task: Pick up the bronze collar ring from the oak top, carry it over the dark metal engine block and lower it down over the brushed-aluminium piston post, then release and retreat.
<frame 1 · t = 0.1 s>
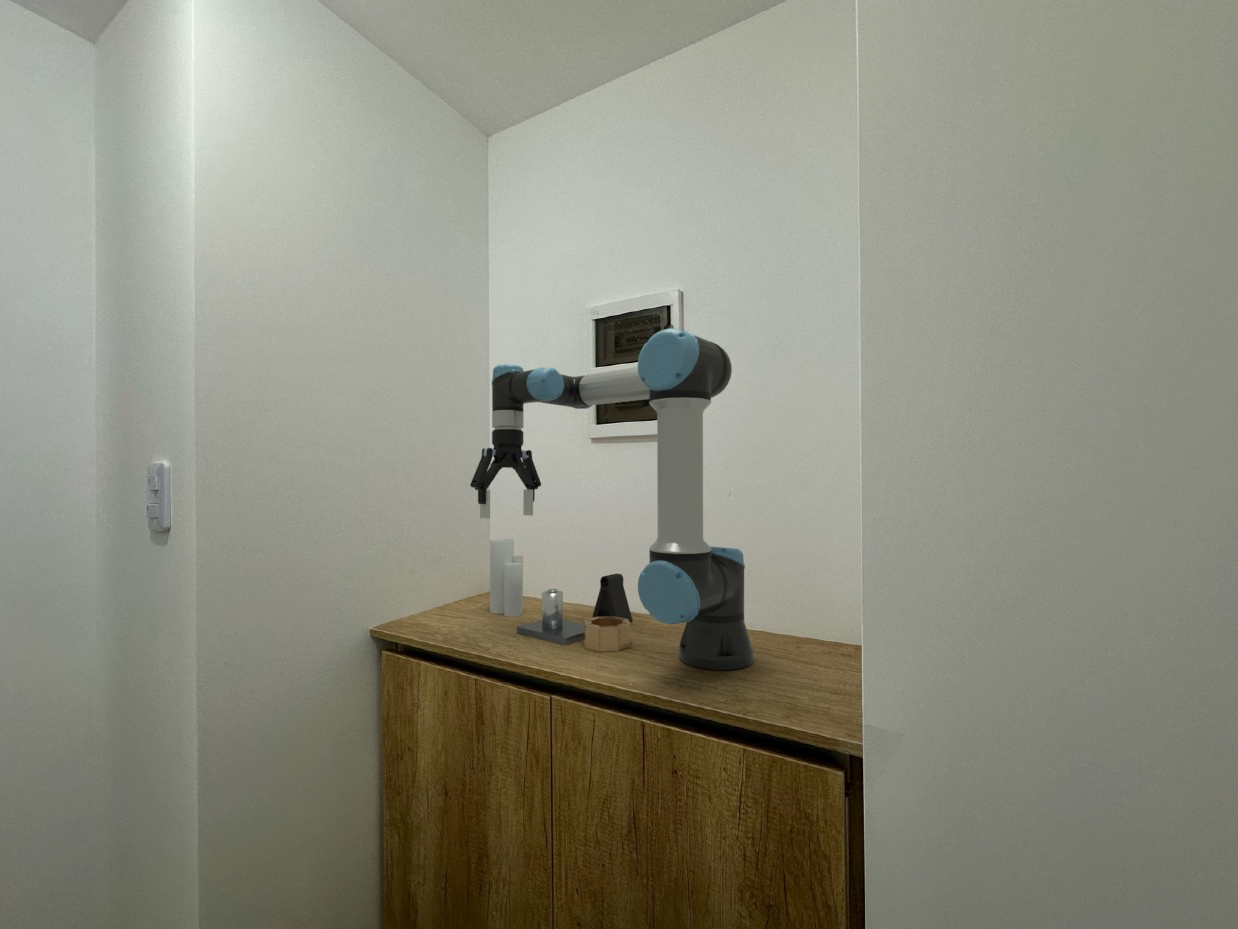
hand: (507, 517, 135), 28 cm above the cabinet top, fingers open, 13 cm apart
piston: (558, 633, 134), on the cabinet top
candle: (508, 613, 155), on the cabinet top
black triangular stand: (612, 621, 145), on the cabinet top
ring: (606, 644, 125), on the cabinet top
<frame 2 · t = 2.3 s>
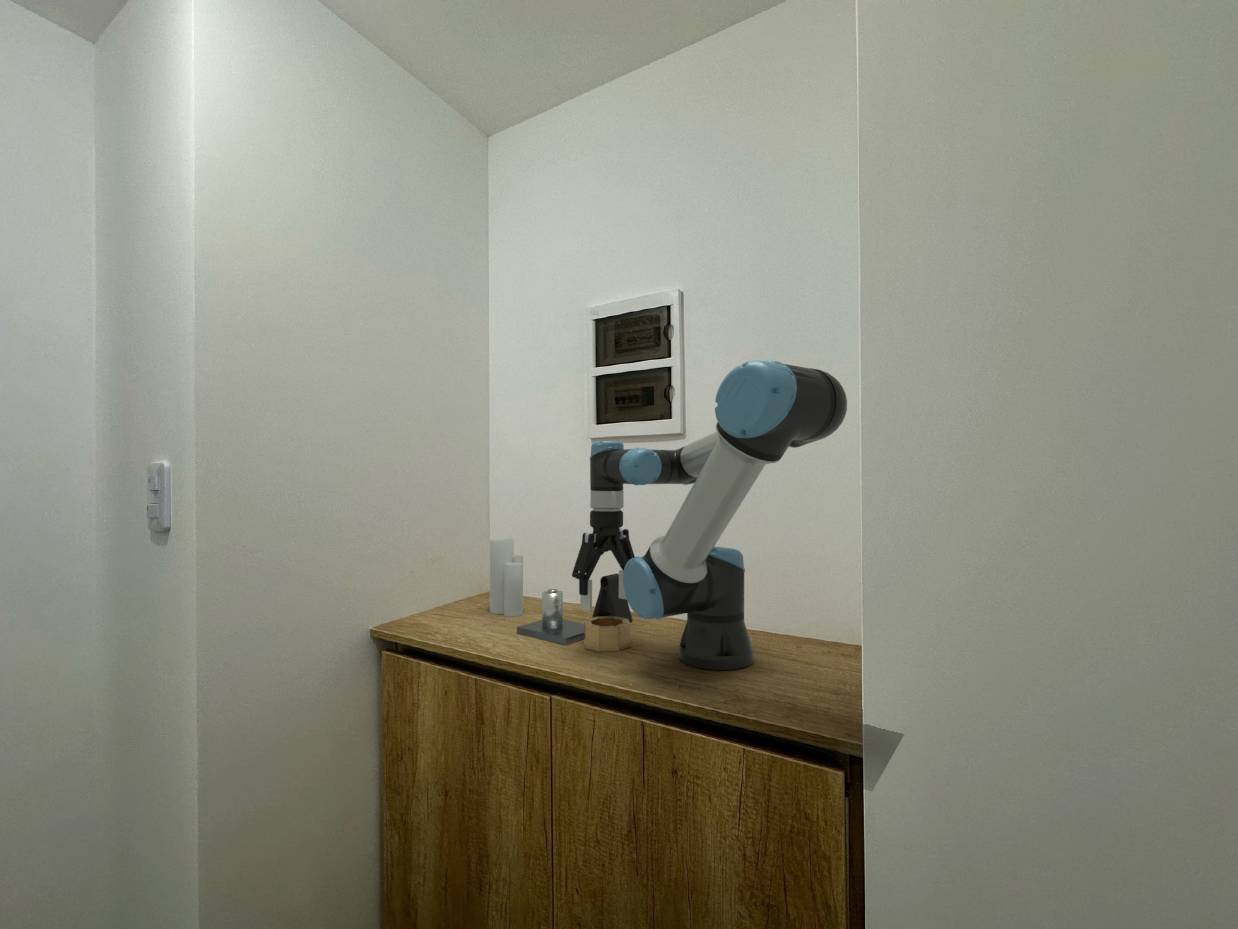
hand: (605, 604, 125), 9 cm above the cabinet top, fingers open, 13 cm apart
nothing on the cabinet top moved.
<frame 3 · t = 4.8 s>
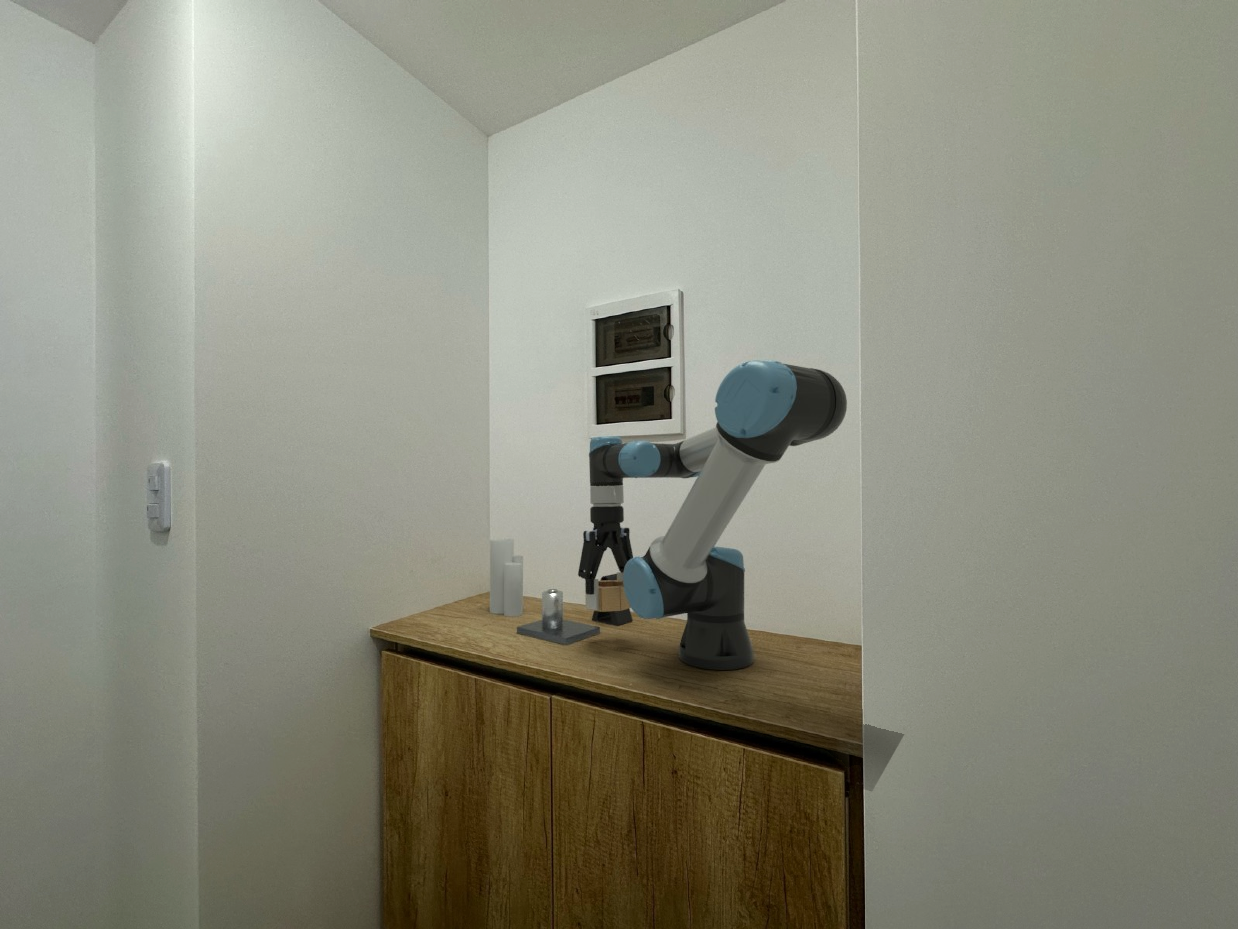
hand: (608, 605, 124), 9 cm above the cabinet top, fingers closed on ring, 10 cm apart
ring: (608, 606, 124), point 9 cm above the cabinet top, touching gripper
everything else where it was.
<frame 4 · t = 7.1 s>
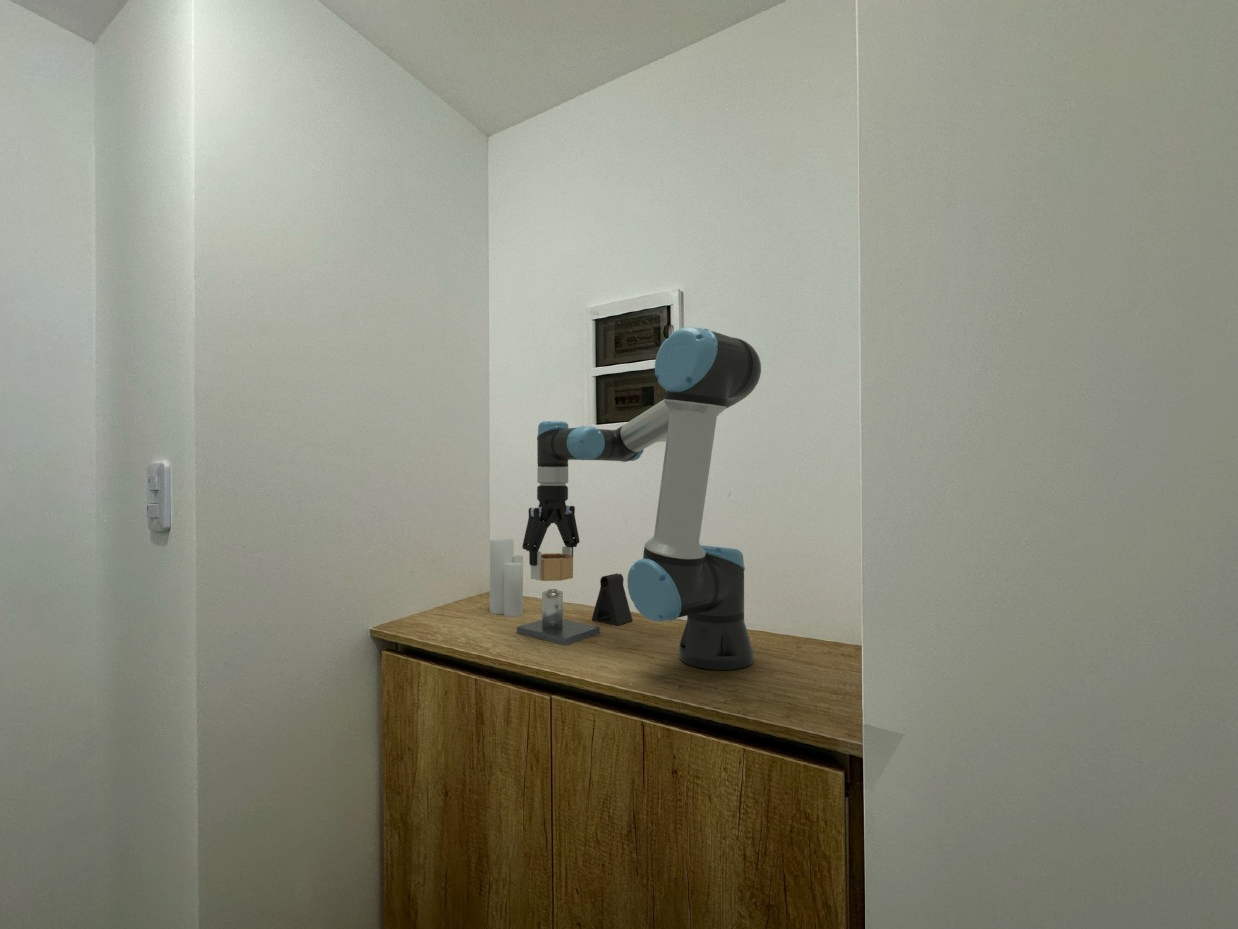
hand: (551, 576, 135), 13 cm above the cabinet top, fingers closed on ring, 10 cm apart
ring: (551, 576, 135), point 13 cm above the cabinet top, touching gripper
everything else where it was.
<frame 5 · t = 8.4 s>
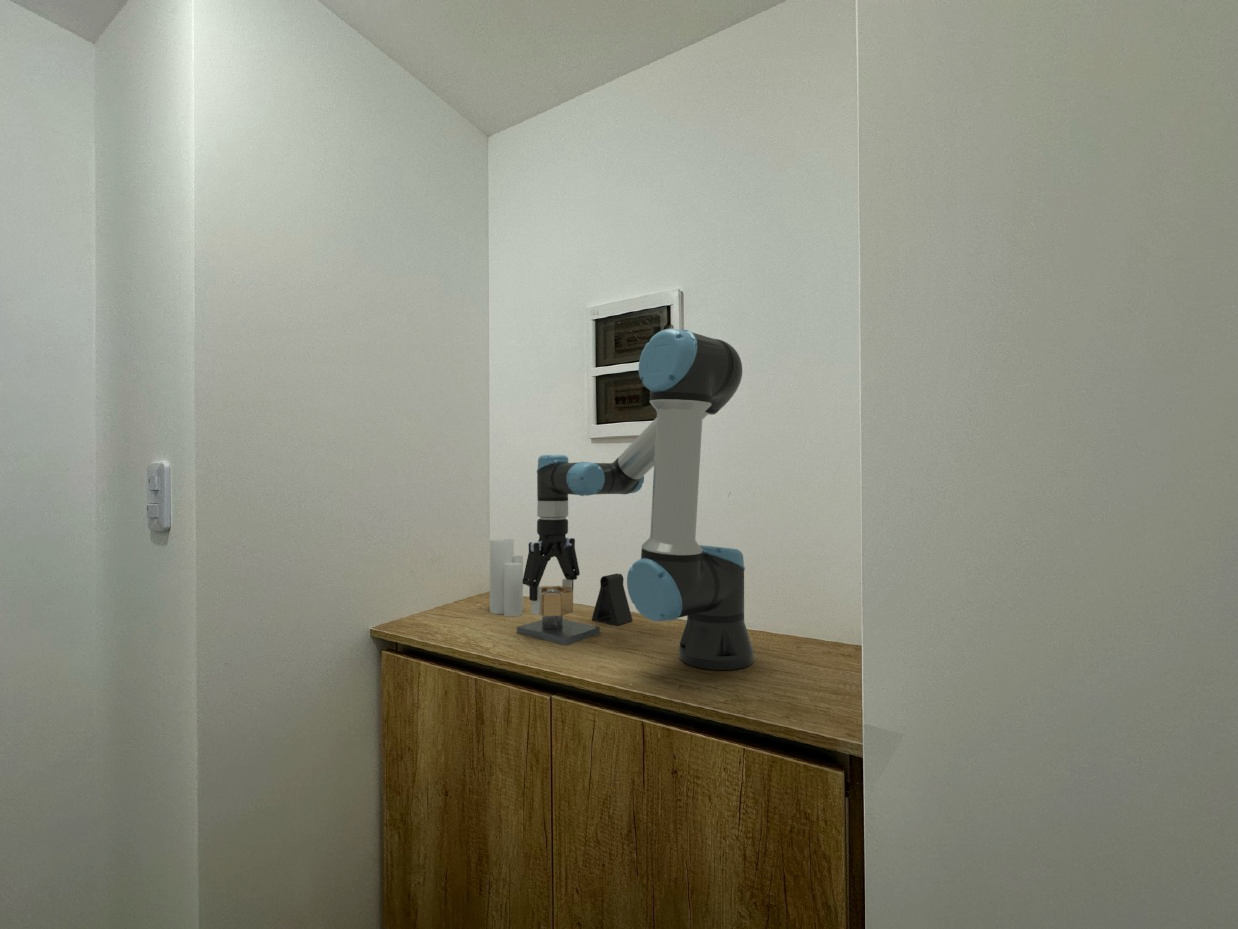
hand: (552, 609, 135), 5 cm above the cabinet top, fingers closed on ring, 10 cm apart
ring: (552, 610, 135), point 5 cm above the cabinet top, touching gripper
everything else where it was.
when the fingers open (3 cm above the cabinet top, at t = 9.4 s): ring stays where it is, resting on piston.
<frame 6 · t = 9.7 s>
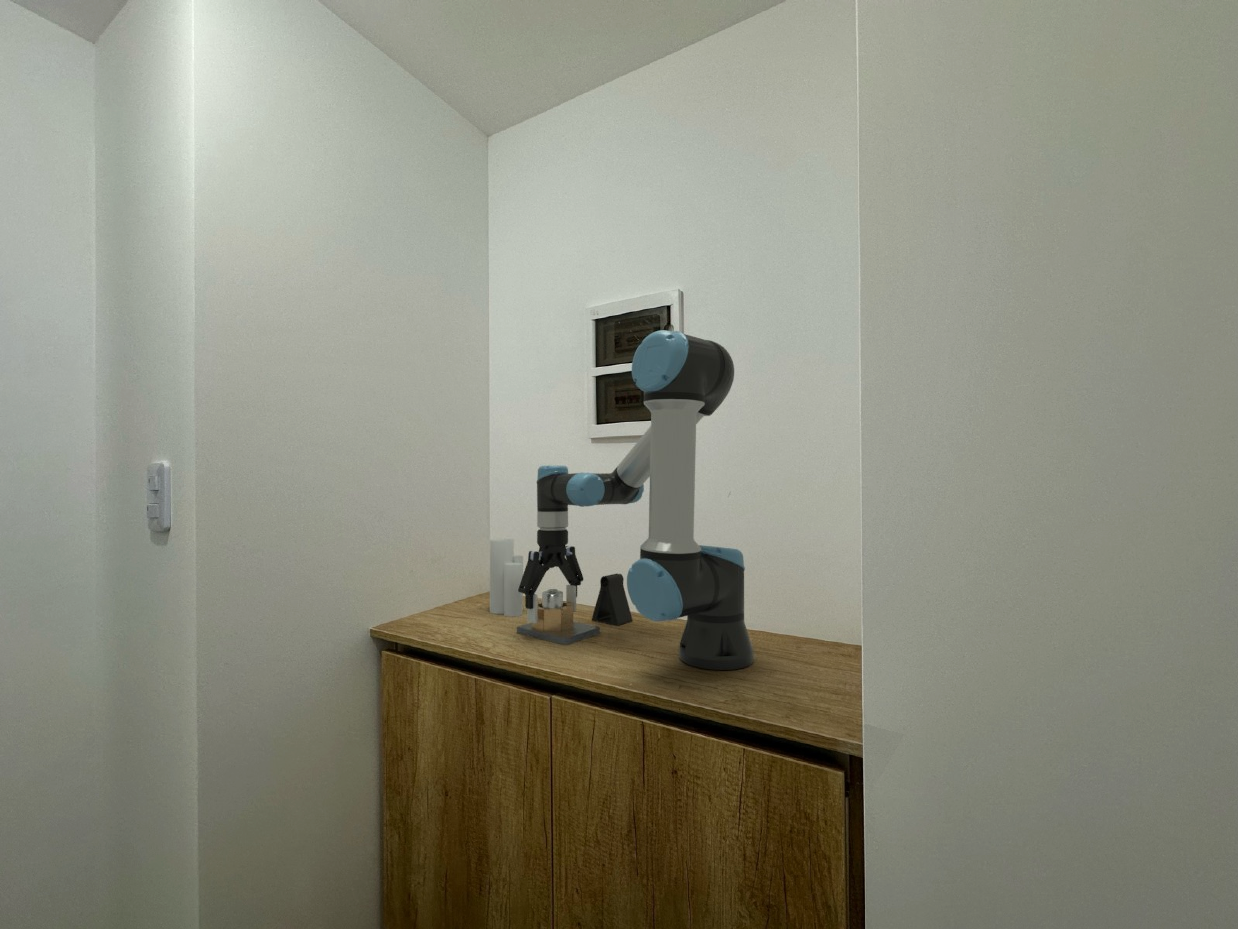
hand: (552, 616, 135), 4 cm above the cabinet top, fingers open, 13 cm apart
ring: (552, 625, 135), point 1 cm above the cabinet top, touching piston
everything else where it was.
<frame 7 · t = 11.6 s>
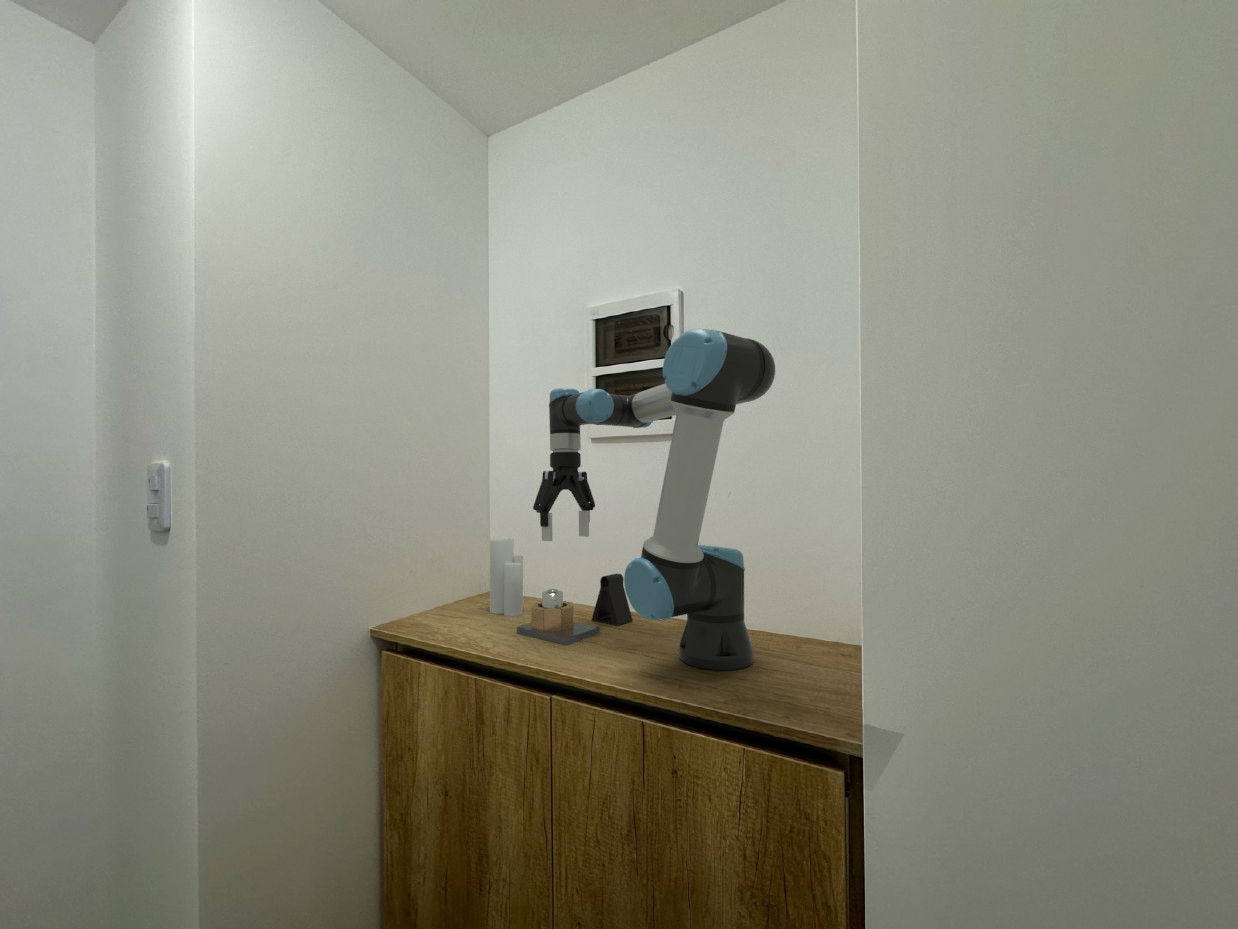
hand: (566, 538, 136), 23 cm above the cabinet top, fingers open, 13 cm apart
nothing on the cabinet top moved.
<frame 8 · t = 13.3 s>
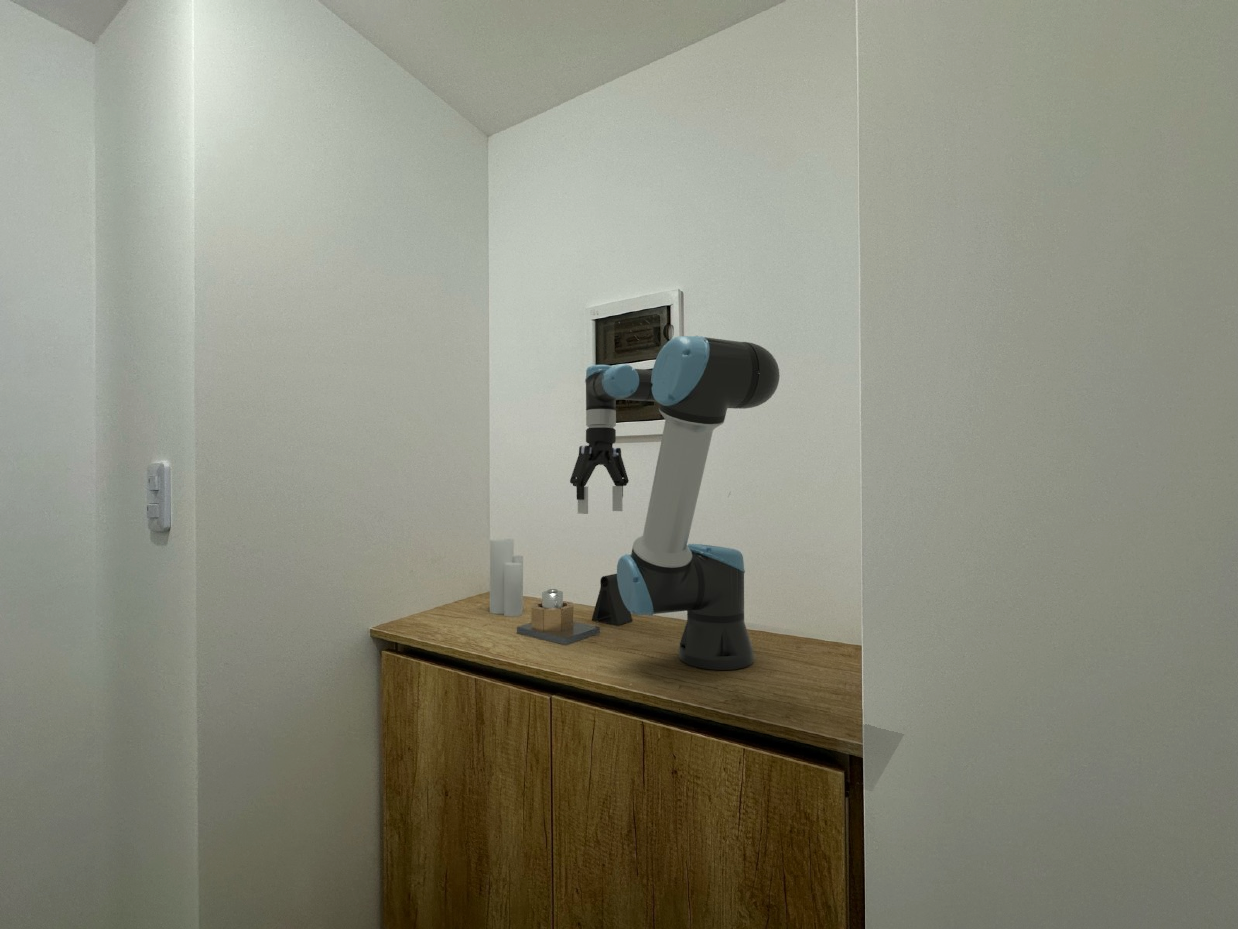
hand: (600, 512, 139), 29 cm above the cabinet top, fingers open, 13 cm apart
nothing on the cabinet top moved.
at the end: ring 0.1 cm from the target spot on the piston, point 1.5 cm above the piston's base; ring tilted 0°; the gripper is holding nothing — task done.
